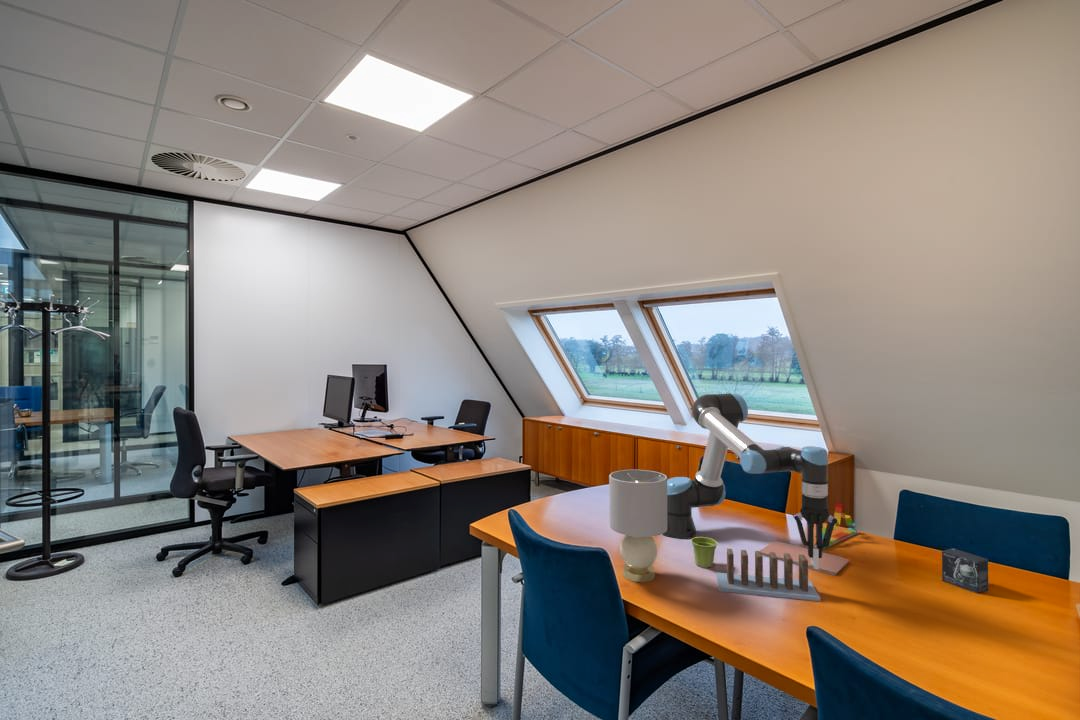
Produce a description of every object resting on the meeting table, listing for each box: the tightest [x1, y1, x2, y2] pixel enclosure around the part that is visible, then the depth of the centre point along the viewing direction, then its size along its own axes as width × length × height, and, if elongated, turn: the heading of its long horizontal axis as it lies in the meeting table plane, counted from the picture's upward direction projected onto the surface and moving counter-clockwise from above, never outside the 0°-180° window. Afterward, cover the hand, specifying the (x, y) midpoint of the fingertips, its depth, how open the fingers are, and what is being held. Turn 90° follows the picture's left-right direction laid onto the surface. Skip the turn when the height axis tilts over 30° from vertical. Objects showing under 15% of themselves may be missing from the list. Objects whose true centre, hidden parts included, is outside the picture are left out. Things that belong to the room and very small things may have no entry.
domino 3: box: [754, 550, 764, 587], centre depth 169 cm, size 2×5×10 cm, turn 166°
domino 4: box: [768, 552, 779, 589], centre depth 168 cm, size 2×5×10 cm, turn 166°
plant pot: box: [690, 536, 718, 569], centre depth 188 cm, size 9×9×9 cm
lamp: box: [608, 469, 668, 583], centre depth 179 cm, size 20×20×35 cm
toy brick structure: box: [814, 502, 858, 551], centre depth 211 cm, size 30×3×15 cm, turn 126°
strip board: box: [715, 572, 821, 602], centre depth 169 cm, size 30×12×1 cm, turn 76°
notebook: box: [759, 540, 850, 576], centre depth 193 cm, size 27×17×2 cm, turn 44°
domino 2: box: [740, 549, 749, 586], centre depth 171 cm, size 2×5×10 cm, turn 166°
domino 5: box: [783, 553, 794, 590], centre depth 167 cm, size 2×5×10 cm, turn 166°
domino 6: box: [798, 554, 809, 592], centre depth 166 cm, size 2×5×10 cm, turn 166°
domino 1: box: [726, 548, 735, 584], centre depth 172 cm, size 2×5×10 cm, turn 166°
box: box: [941, 548, 990, 594], centre depth 169 cm, size 11×7×10 cm, turn 23°
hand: (814, 567), depth 165 cm, fingers closed
